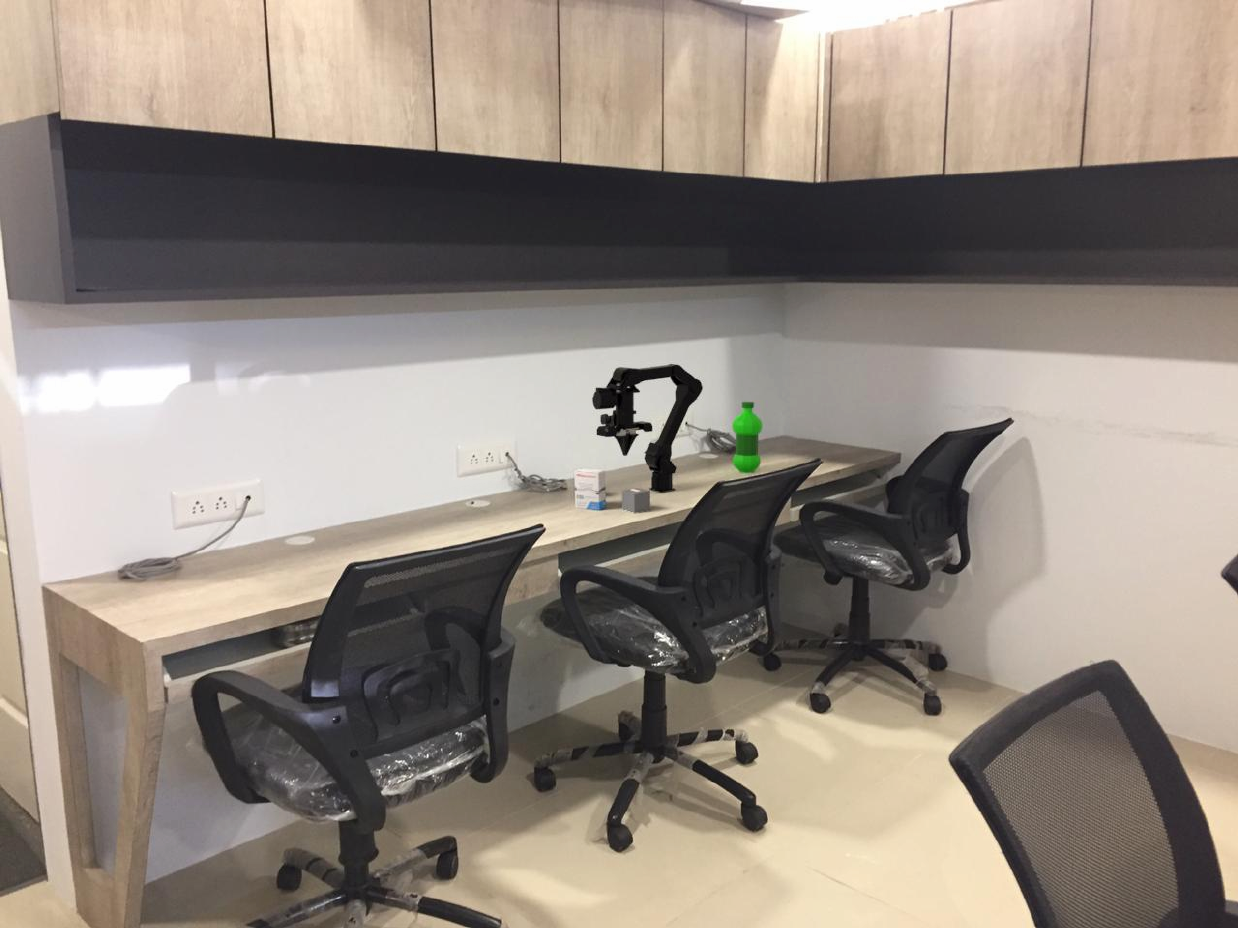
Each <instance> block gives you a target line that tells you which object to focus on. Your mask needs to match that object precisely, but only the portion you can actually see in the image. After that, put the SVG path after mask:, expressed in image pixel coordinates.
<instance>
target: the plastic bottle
mask: <svg viewBox="0 0 1238 928" xmlns="http://www.w3.org/2000/svg"><path fill="white" fill-rule="evenodd" d="M754 407H755V401H741V408H742V409H743V410H742V412H741V413H740V414H738V416H736V417H735V418H734V420H733V422H732V431H733V432H734V433H735V454H734V455H733V458H732V465H733V466H734V467H735V468H736V469H737V471H739V472H740V473H743V474H749V473H750V472H751V473H754V472H755V471H756V470H757V469H758V468H759V467H760V465H761V457H760V455H759V434H760V433H761V432H762V431H763V430H762V429H763V422H762V420H761V418H759V416H757V414H755V413H754V412H753V409H754Z"/></svg>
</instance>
